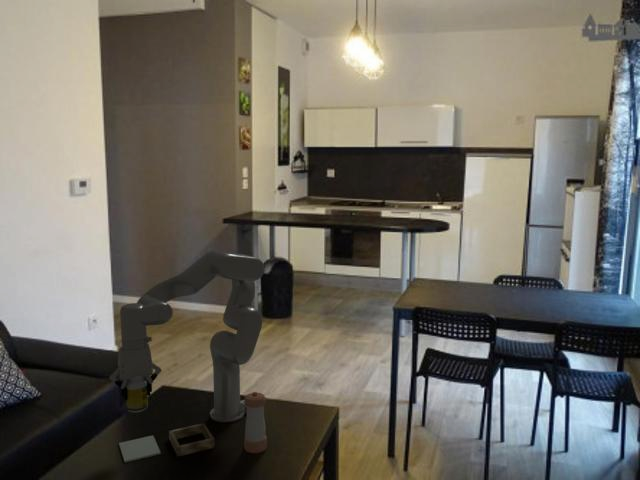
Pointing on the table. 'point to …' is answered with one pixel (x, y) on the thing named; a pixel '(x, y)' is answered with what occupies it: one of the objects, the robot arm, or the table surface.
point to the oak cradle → (195, 445)
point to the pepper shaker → (255, 423)
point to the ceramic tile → (139, 448)
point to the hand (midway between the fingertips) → (136, 396)
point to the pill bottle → (137, 394)
